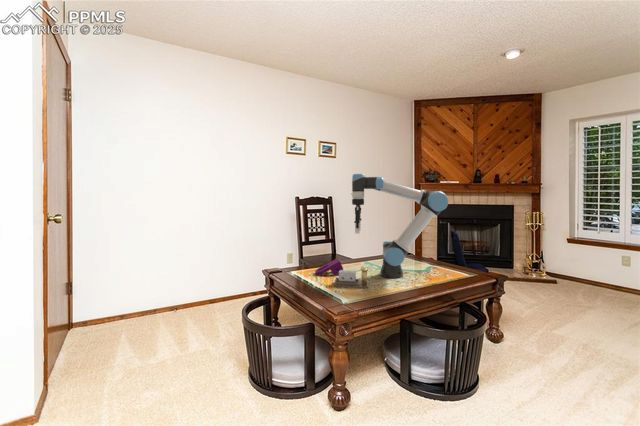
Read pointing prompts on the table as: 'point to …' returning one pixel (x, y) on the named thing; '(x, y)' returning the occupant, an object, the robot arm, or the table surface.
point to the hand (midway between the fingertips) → (357, 232)
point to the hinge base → (358, 282)
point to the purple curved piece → (330, 267)
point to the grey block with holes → (347, 276)
